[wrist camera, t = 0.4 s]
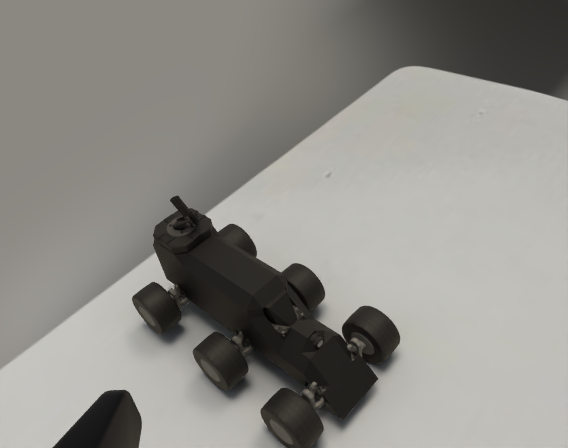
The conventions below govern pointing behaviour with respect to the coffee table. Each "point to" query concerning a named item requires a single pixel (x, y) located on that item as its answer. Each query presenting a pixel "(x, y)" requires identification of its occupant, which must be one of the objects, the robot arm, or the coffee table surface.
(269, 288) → the toy vehicle
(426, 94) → the coffee table surface
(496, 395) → the coffee table surface
